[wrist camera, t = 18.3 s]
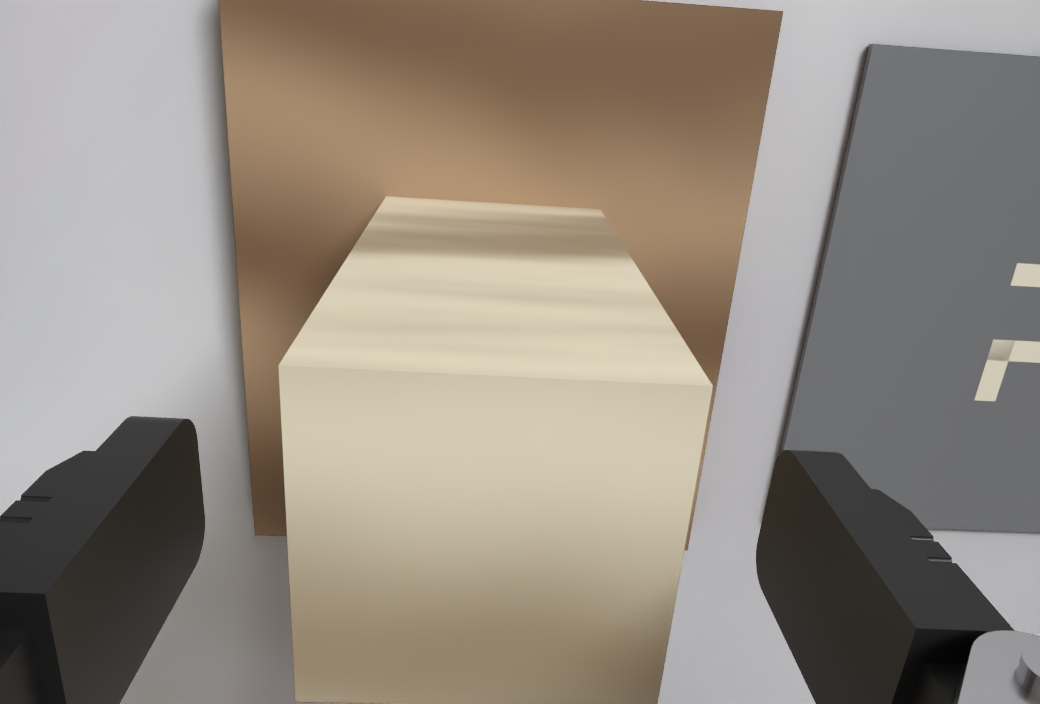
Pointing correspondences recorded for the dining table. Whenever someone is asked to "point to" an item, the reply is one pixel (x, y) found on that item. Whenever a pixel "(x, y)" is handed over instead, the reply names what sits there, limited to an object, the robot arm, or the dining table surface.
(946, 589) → the robot arm
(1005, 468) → the tile
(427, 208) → the birch block
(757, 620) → the dining table surface
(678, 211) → the walnut board
